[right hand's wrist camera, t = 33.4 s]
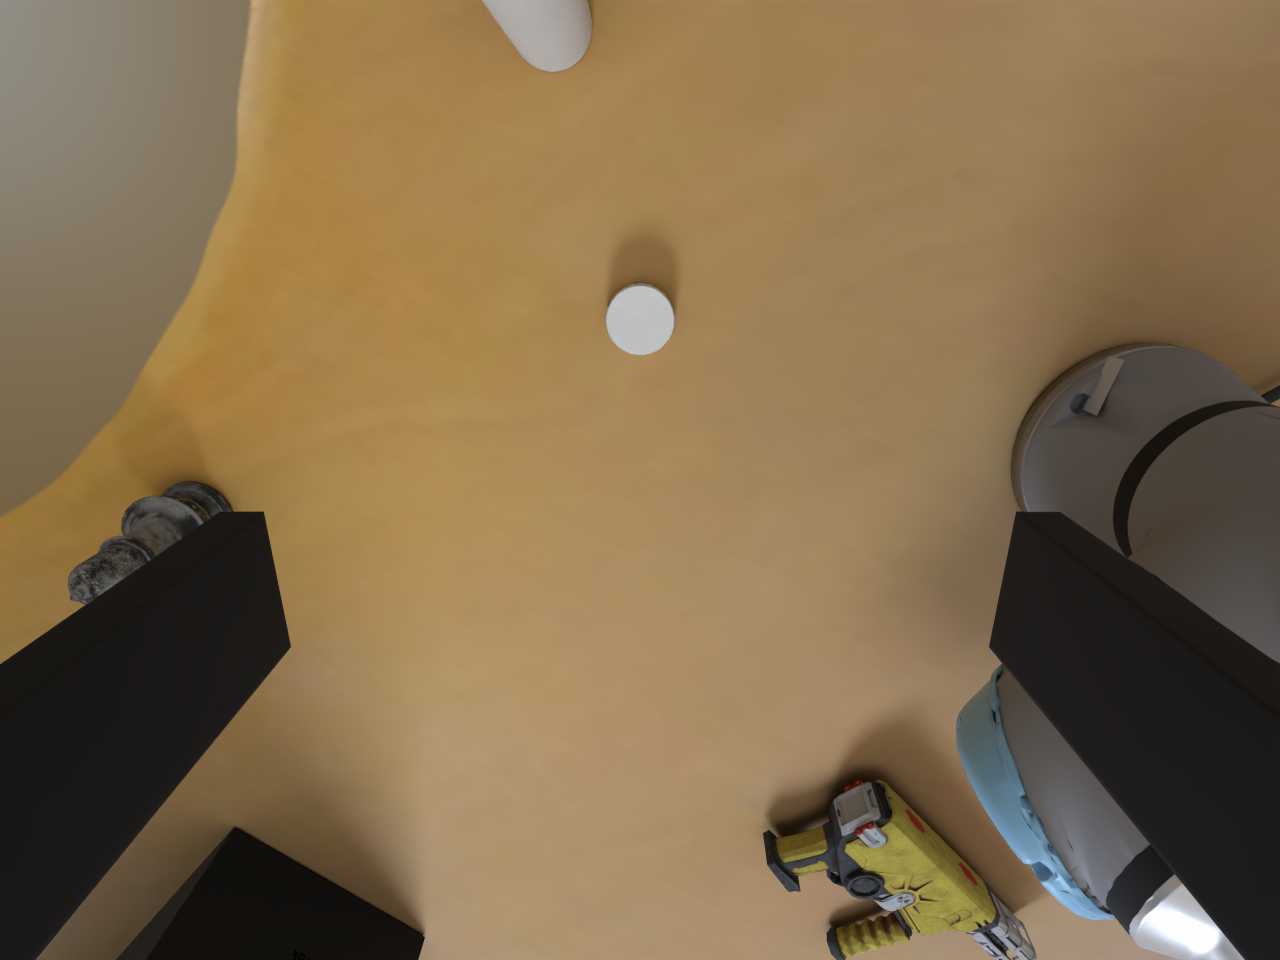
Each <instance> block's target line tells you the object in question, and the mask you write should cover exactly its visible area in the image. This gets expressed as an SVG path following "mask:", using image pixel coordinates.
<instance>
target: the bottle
mask: <svg viewBox="0 0 1280 960" xmlns="http://www.w3.org/2000/svg"><path fill="white" fill-rule="evenodd" d="M482 2H483V3H484V5H485V6H486V7H487V9H488V10H489V12H490V13H491V14H492V16H493V17H494V18H495V20H496V21H497V23H498V24H499V25H500V27H501V28H502V30H503V31H504V32H505V34H506V35H507V36H508V38H509V39H510V41H511V42H512V43H513V45H514V46H515V47H516V49H517V50H518V52H519V53H520V54H521V56H522V57H523V58H524V59H525V60H526V61H527V62H528V63H530V64H531V65H532V66H534V67H536V68H538V69H540V70H543V71H549V72H558V71H562V70H565V69H568V68H570V67H571V66H573V65H574V64H576V63H577V62H578V61H579V60H580V59H581V58H582V56H583V55H584V53H585V52H586V50H587V48H588V45H589V43H590V39H591V34H592V18H591V13H590V9H589V5H588V0H482Z"/></svg>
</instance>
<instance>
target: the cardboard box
mask: <svg viewBox="0 0 1280 960" xmlns="http://www.w3.org/2000/svg"><path fill="white" fill-rule="evenodd" d="M424 939H425V937H424V936H422V935H420V934H419V933H417V932H415V931H413V930H412V929H410V928H408V927H406V926H405V925H403V924H401V923H399V922H398V921H396V920H394V919H392V918H391V917H389V916H387V915H385V914H384V913H382V912H380V911H378V910H377V909H375V908H373V907H372V906H370V905H368V904H366V903H365V902H363V901H361V900H359V899H358V898H356V897H354V896H352V895H351V894H349V893H347V892H345V891H344V890H342V889H340V888H338V887H337V886H335V885H333V884H331V883H330V882H328V881H326V880H325V879H323V878H321V877H319V876H318V875H316V874H314V873H312V872H311V871H309V870H307V869H305V868H304V867H302V866H300V865H298V864H297V863H295V862H293V861H291V860H290V859H288V858H286V857H285V856H283V855H281V854H279V853H278V852H276V851H274V850H272V849H271V848H269V847H267V846H265V845H264V844H262V843H260V842H258V841H257V840H255V839H253V838H251V837H250V836H248V835H246V834H244V833H243V832H241V831H239V830H238V829H236V828H233V829H232V830H231V831H230V833H229V834H228V835H227V836H226V837H225V838H224V839H223V840H222V842H221V843H220V844H219V845H218V846H217V847H216V848H215V849H214V851H213V852H212V853H211V854H210V855H209V856H208V857H207V858H206V860H205V861H204V862H203V863H202V864H201V865H200V866H199V867H198V869H197V870H196V871H195V872H194V873H193V874H192V875H191V876H190V878H189V879H188V880H187V881H186V882H185V883H184V884H183V885H182V887H181V888H180V889H179V890H178V891H177V892H176V893H175V894H174V895H173V897H172V898H171V899H170V900H169V901H168V902H167V903H166V904H165V906H164V907H163V908H162V909H161V910H160V911H159V912H158V913H157V915H156V916H155V917H154V918H153V919H152V920H151V921H150V922H149V924H148V925H147V926H146V927H145V928H144V929H143V930H142V931H141V933H140V934H139V935H138V936H137V937H136V938H135V939H134V940H133V942H132V943H131V944H130V945H129V946H128V947H127V948H126V949H125V951H124V952H123V953H122V954H121V955H120V956H119V957H118V958H117V960H418V959H419V955H420V952H421V949H422V945H423V942H424Z"/></svg>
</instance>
